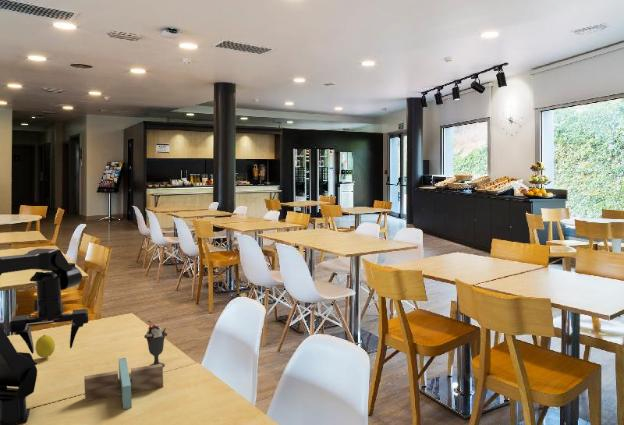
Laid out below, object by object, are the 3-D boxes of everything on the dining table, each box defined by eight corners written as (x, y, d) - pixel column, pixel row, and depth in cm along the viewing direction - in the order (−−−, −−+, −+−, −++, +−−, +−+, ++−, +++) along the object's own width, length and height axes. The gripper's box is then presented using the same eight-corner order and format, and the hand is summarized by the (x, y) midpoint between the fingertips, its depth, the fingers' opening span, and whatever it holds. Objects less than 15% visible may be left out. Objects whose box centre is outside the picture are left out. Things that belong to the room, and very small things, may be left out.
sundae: (140, 368, 149) (138, 321, 147) (156, 360, 155) (155, 315, 153) (156, 372, 146) (154, 324, 144) (172, 364, 152) (170, 318, 150)
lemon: (47, 362, 153) (45, 338, 153) (32, 361, 154) (30, 336, 154) (59, 355, 159) (58, 332, 158) (44, 354, 160) (43, 331, 159)
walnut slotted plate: (162, 383, 138) (161, 363, 137) (163, 386, 136) (162, 366, 136) (85, 397, 130) (84, 376, 129) (85, 400, 128) (84, 379, 127)
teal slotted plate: (131, 407, 124) (130, 385, 124) (123, 409, 124) (122, 386, 123) (126, 377, 142) (125, 357, 142) (119, 378, 142) (118, 358, 141)
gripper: (87, 284, 141) (90, 336, 143) (13, 291, 134) (17, 345, 135) (86, 293, 131) (89, 349, 133) (6, 301, 124) (10, 360, 125)
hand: (52, 350), depth 132 cm, fingers open, 9 cm apart
